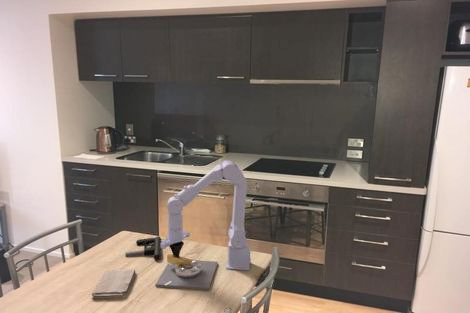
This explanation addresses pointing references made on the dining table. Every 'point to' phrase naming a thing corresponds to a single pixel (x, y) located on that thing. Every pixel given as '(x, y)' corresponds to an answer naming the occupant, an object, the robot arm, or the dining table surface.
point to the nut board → (197, 283)
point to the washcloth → (114, 284)
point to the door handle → (148, 251)
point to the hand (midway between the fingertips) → (175, 258)
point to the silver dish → (184, 266)
